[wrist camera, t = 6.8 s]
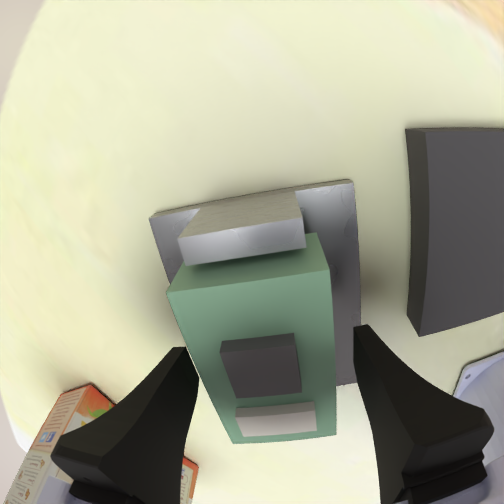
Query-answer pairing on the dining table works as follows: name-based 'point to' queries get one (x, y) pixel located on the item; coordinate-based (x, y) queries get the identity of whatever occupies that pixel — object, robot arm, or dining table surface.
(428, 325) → the pad
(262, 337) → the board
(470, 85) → the dining table surface
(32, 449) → the cracker box
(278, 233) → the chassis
